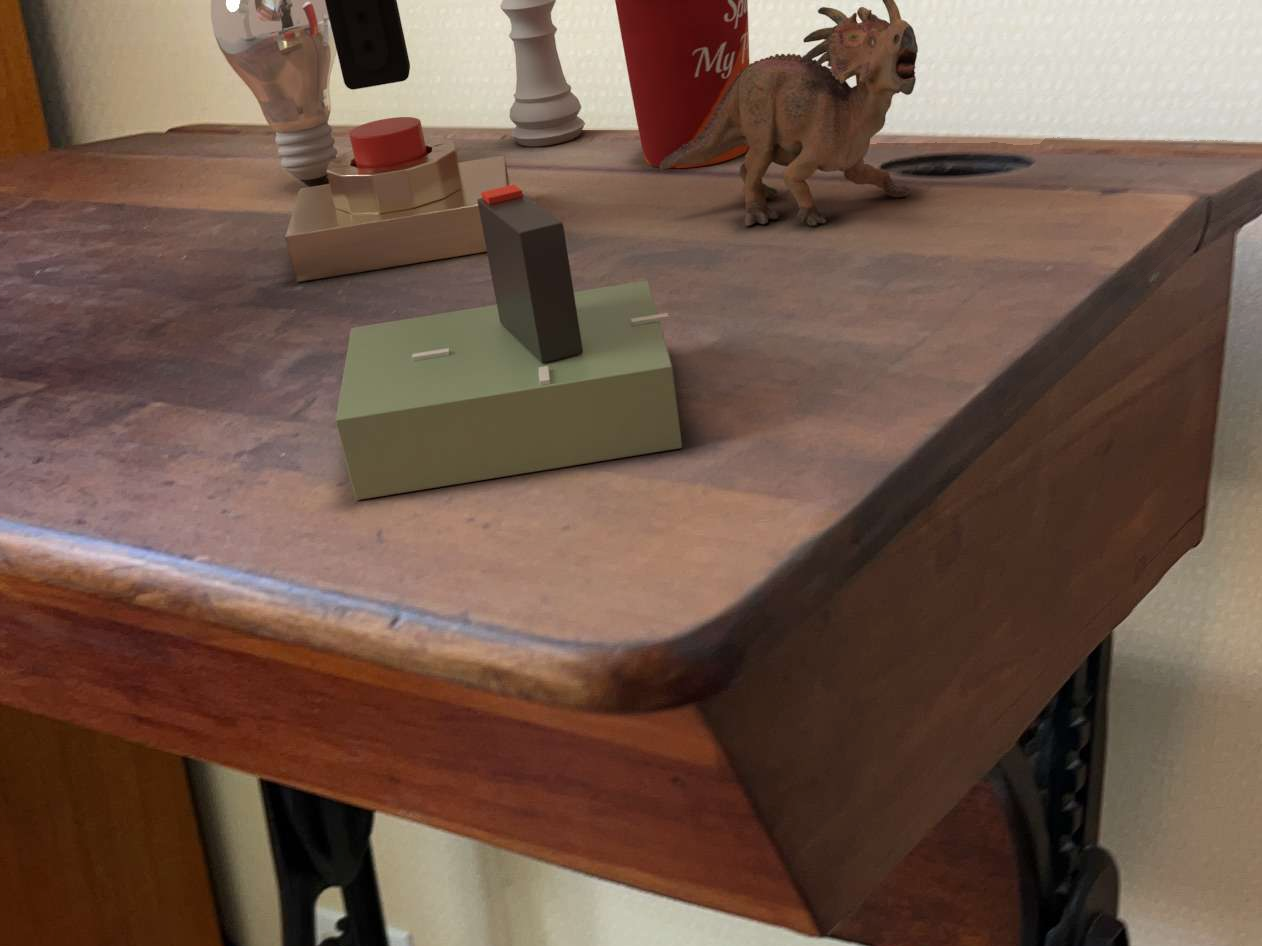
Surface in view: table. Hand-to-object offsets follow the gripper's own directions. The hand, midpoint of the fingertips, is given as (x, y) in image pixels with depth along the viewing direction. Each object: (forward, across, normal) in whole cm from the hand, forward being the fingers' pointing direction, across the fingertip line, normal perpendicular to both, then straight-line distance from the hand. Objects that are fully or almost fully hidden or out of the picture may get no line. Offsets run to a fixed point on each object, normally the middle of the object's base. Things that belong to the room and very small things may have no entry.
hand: (378, 80), depth 80 cm
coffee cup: (+8, +8, -16) cm, 19 cm away
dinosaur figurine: (+8, -6, -20) cm, 22 cm away
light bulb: (+8, +15, +6) cm, 18 cm away
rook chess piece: (+8, +17, -8) cm, 20 cm away
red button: (+4, 0, 0) cm, 4 cm away
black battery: (+4, -28, -6) cm, 29 cm away
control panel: (+7, -28, -5) cm, 29 cm away
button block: (+7, 0, 0) cm, 7 cm away
